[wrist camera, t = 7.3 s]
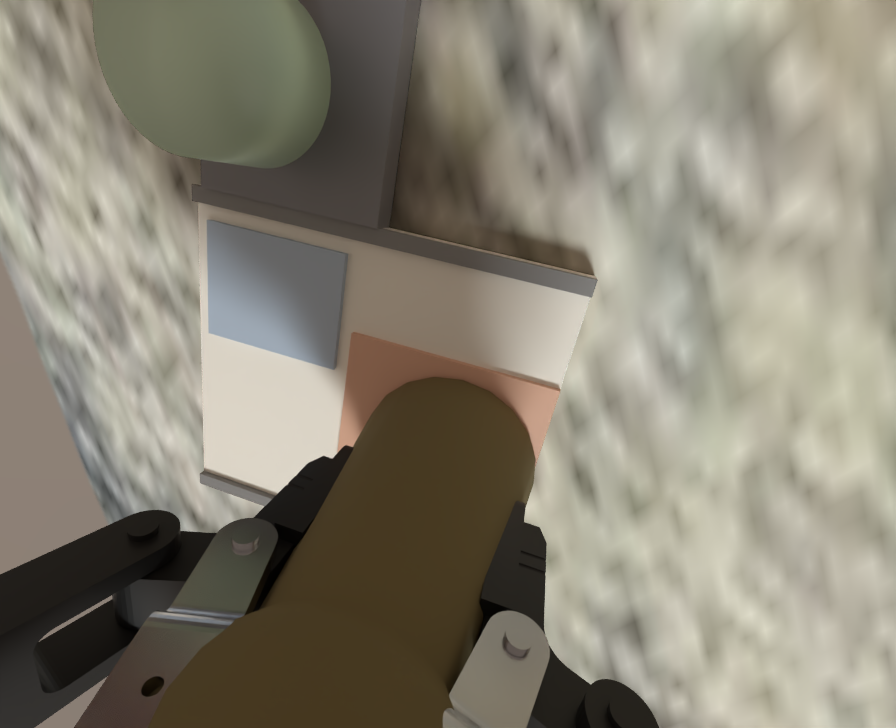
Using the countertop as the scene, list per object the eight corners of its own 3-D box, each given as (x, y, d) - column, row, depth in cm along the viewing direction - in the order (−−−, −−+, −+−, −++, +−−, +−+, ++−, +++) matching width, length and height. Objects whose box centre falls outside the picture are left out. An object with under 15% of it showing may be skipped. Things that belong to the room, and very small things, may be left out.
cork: (445, 556, 16) (258, 1125, 6) (333, 441, 16) (-74, 860, 6) (574, 477, 14) (621, 1202, 4) (448, 339, 13) (102, 748, 3)
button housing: (421, -6, 11) (409, -25, 10) (388, 227, 13) (377, 228, 13) (223, -34, 12) (196, -55, 11) (224, 188, 14) (201, 187, 13)
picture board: (595, 276, 13) (597, 280, 12) (497, 571, 17) (494, 588, 16) (211, 185, 14) (191, 184, 14) (215, 472, 19) (200, 483, 18)
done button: (338, -9, 9) (272, -76, 7) (323, 182, 11) (264, 175, 9) (184, -32, 10) (80, -100, 8) (190, 152, 12) (103, 139, 9)
